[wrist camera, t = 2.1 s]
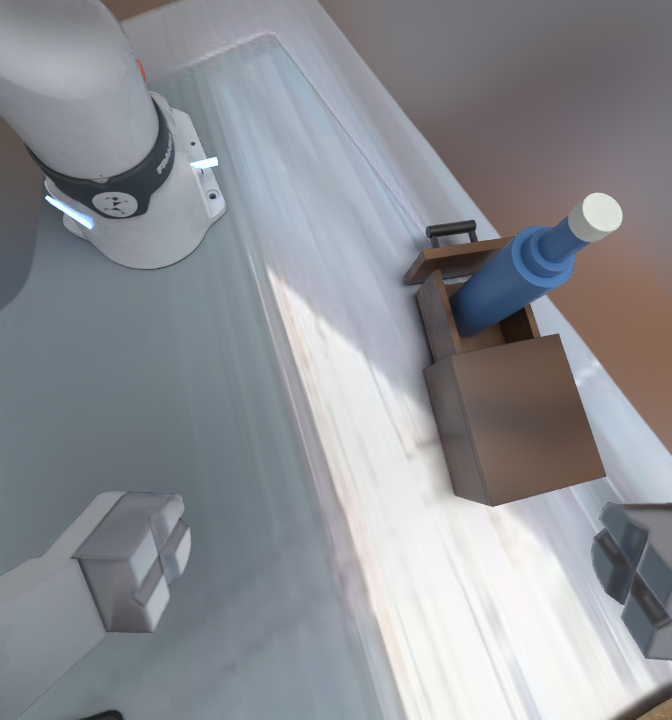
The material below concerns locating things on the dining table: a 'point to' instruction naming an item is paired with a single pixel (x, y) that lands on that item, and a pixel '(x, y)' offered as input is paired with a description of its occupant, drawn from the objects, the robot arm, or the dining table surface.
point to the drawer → (435, 294)
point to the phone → (107, 716)
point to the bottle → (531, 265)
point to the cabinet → (512, 421)
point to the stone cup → (659, 712)
